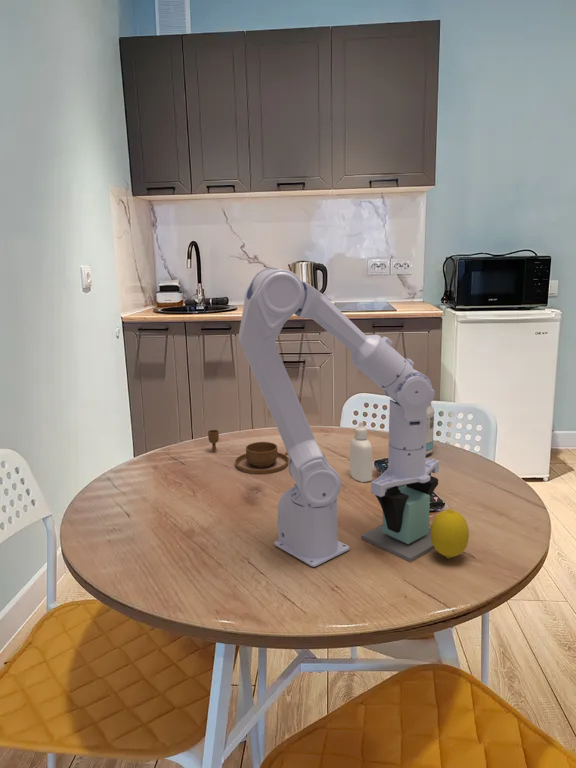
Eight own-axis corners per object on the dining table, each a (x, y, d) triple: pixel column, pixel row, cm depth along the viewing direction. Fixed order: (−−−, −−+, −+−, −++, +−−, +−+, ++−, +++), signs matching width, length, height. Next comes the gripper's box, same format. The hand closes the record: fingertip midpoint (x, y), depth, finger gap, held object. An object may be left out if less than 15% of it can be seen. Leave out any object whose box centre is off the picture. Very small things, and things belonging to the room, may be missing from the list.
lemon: (439, 545, 92) (441, 498, 90) (473, 556, 88) (476, 507, 87) (423, 559, 88) (425, 511, 86) (458, 571, 84) (460, 521, 82)
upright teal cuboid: (382, 532, 94) (383, 494, 93) (402, 522, 97) (403, 485, 96) (408, 544, 90) (409, 504, 89) (428, 533, 93) (429, 495, 92)
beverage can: (420, 446, 137) (421, 397, 135) (439, 455, 131) (440, 404, 128) (395, 451, 135) (396, 401, 132) (413, 460, 128) (415, 408, 126)
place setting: (232, 484, 120) (231, 457, 118) (204, 454, 137) (203, 430, 136) (308, 469, 127) (308, 444, 125) (272, 443, 145) (271, 420, 143)
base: (361, 538, 95) (361, 535, 94) (400, 519, 101) (400, 516, 101) (410, 562, 87) (410, 558, 87) (449, 539, 93) (449, 536, 93)
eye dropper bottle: (370, 472, 122) (371, 418, 119) (372, 483, 117) (372, 426, 114) (350, 472, 123) (350, 418, 120) (350, 482, 117) (350, 426, 114)
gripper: (397, 462, 83) (395, 549, 86) (456, 439, 92) (452, 518, 95) (360, 450, 88) (360, 532, 91) (419, 430, 97) (417, 505, 100)
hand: (405, 524), depth 93 cm, fingers closed on upright teal cuboid, 5 cm apart
